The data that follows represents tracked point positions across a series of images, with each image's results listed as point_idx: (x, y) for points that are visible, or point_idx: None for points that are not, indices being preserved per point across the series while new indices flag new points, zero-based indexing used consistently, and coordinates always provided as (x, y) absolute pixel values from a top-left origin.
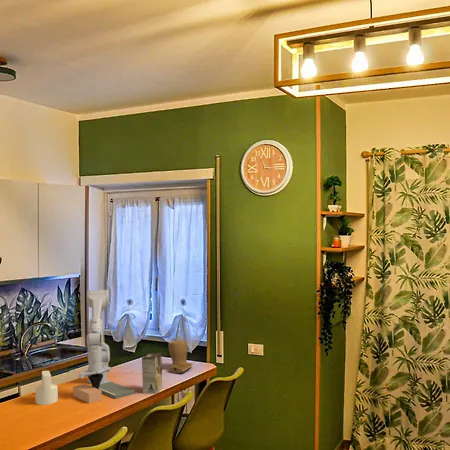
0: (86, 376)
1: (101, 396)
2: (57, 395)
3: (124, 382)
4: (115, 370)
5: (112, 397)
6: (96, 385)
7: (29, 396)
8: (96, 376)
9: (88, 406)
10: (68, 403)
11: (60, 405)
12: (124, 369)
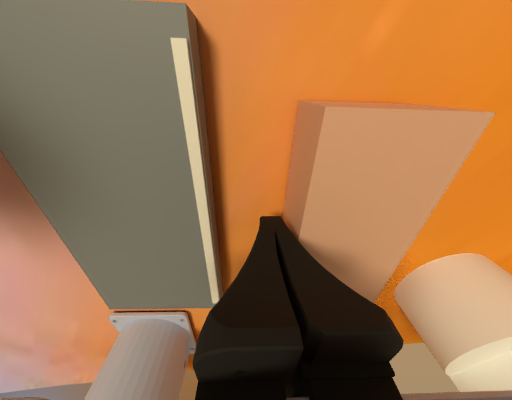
0: (463, 397)
1: (308, 101)
2: (443, 289)
3: (42, 284)
4: (64, 373)
5: (201, 82)
6: (289, 245)
7: (409, 338)
8: (320, 354)
9: (469, 40)
10: (440, 208)
11: (485, 209)
12: (27, 369)
